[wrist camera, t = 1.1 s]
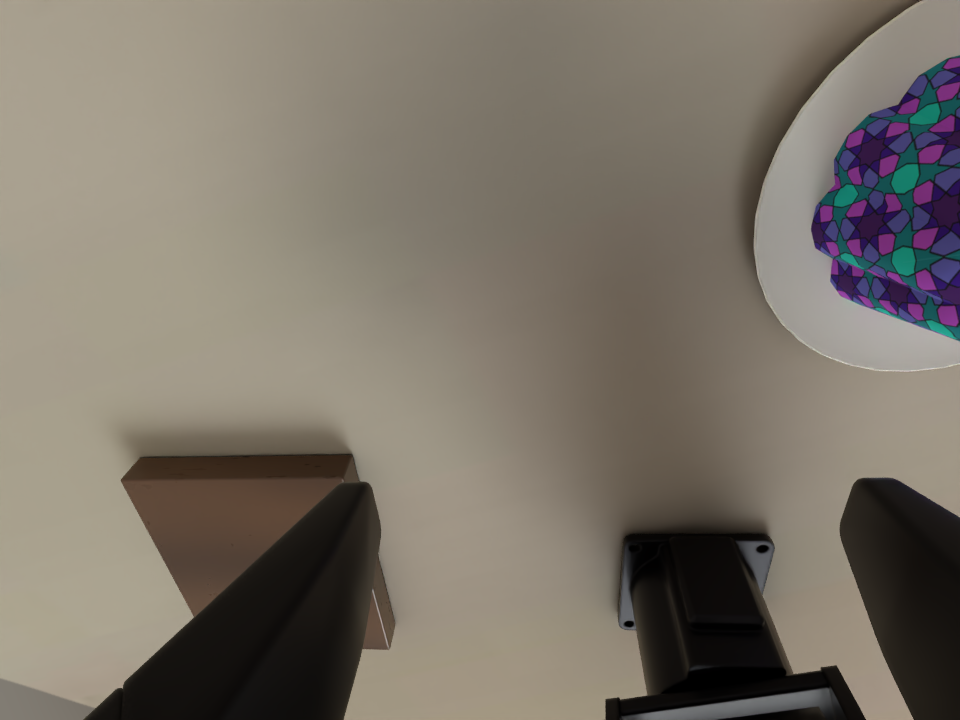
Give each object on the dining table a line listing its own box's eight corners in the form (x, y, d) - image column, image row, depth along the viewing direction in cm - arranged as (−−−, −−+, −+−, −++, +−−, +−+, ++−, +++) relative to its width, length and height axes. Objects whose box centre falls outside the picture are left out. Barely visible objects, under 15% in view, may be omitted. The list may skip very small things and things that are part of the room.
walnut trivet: (395, 624, 31) (390, 650, 30) (221, 621, 32) (209, 646, 31) (352, 454, 25) (343, 477, 24) (139, 457, 26) (119, 480, 25)
